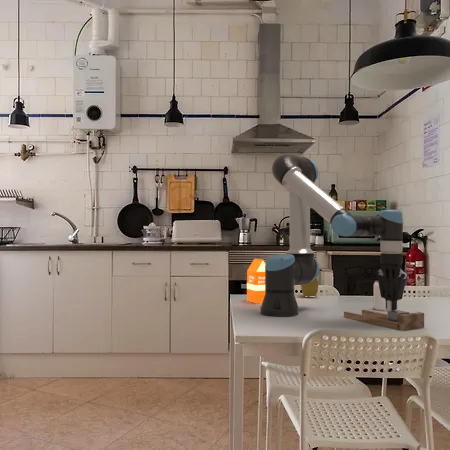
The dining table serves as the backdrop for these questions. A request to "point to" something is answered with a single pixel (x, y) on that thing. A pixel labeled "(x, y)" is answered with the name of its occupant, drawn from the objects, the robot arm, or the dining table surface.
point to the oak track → (402, 323)
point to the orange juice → (256, 281)
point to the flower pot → (310, 288)
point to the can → (378, 299)
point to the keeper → (395, 315)
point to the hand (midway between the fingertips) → (391, 318)
